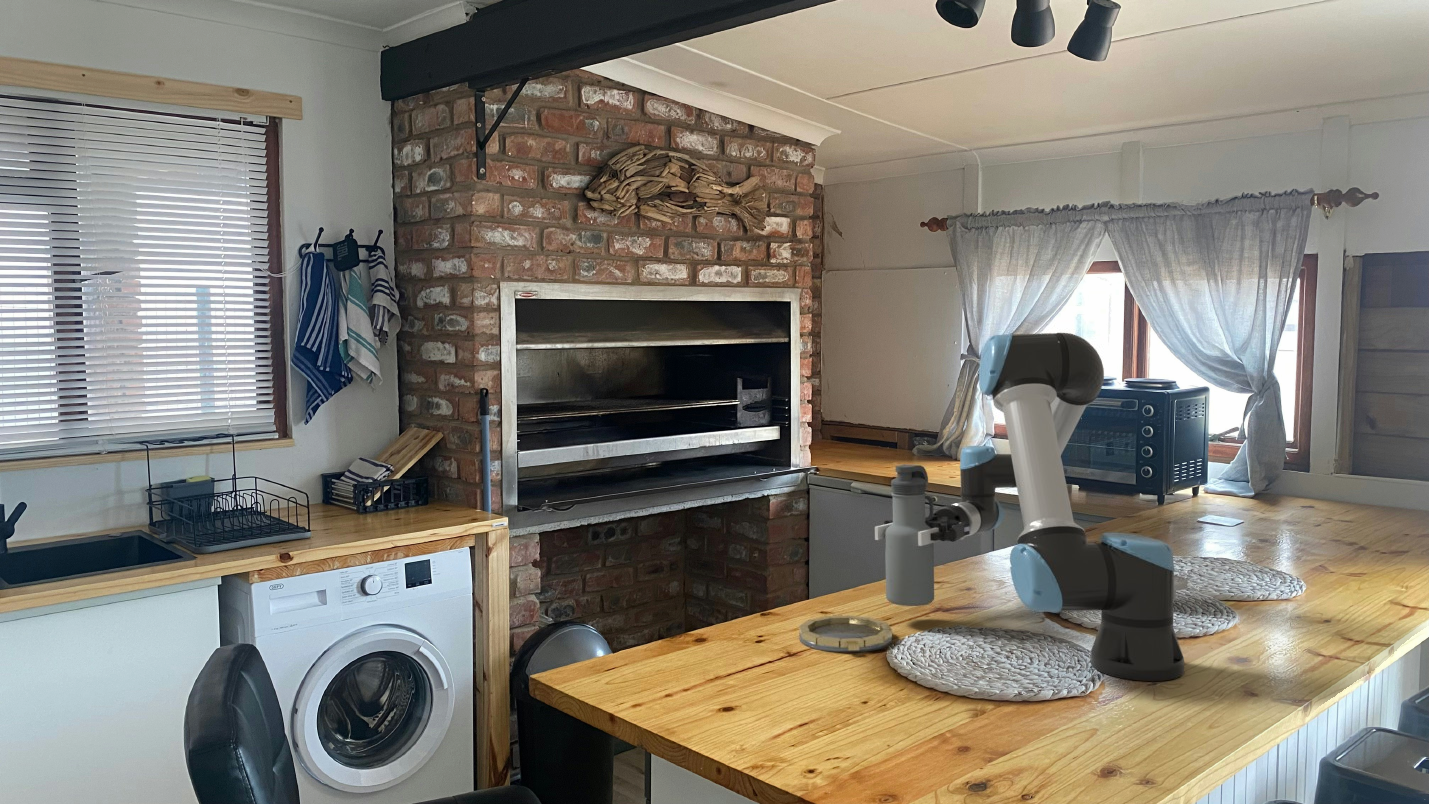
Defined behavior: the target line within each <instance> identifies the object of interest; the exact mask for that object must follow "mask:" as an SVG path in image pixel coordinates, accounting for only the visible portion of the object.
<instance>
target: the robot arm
mask: <svg viewBox="0 0 1429 804" xmlns="http://www.w3.org/2000/svg"><path fill="white" fill-rule="evenodd" d="M1104 378H1105V368H1104V365H1103V362H1102V359H1101V356H1100V355H1099V352H1098V351H1097V350H1096V348H1095V347H1094V346H1093V345H1092V344H1091V343H1090V342H1089V341H1087V340H1086V339H1085V338H1083V337H1081V336H1079V335H1077V334H1073V333H1070V332H1057V333H1056V332H1055V333H1054V332H1052V333H1051V332H1049V333H1042V332H1041V333H1017V334H1016V333H1012V332H1010V333H1008V334H994V335H991V336H990V337H989V338H987V340H986V342H985V344H984V345H983V348H982V352H981V356H980V362H979V372H978V382H979V383H978V384H979V385H978V386H979V389H980V391H981V394H983V395H984V396H987V397H990V396H991V397H992V402H993V406H994V408H995V409H996V410H998V411H1000V412H1002V414H1003V416H1004V417H1003V418H1004V423H1005V428H1006V433H1007V440H1008V444H1009V445H1008V446H1009V451H1010V453H996V451H995V450H996V449H995V447H993V446H989V445H968V446H965V447H962V449H961V450H960V463H959V469H960V470H959V472H960V502H957V503H951V504H948V505H944V506H940V507H938V509H936V510H934V512H933V514H934V515H933V518H932V519H931V520H928V521H926V520H925V523H926V525H928V526H929V527H930V528H931V529H928V530H924V531H920V532H918V546H923V545H927V544H930V543H934V544H935V543H938V542H939V541H940V542H957V541H958V540H965V539H966V537H969V536H974V535H978V534H982V533H987V532H989V531H991V530H994V529H996V528H998V526H999V525H1001V524H1002V521H1003V518H1004V509H1003V507H1002V505H1001V503H1000V502H999V500H998V499H996V489H1001V488H1002V489H1003V488H1005V489H1006V488H1008V489H1009V488H1012V489H1013V488H1016V490H1017V495H1018V502H1019V507H1020V512H1021V513H1020V514H1021V519H1022V523H1023V524H1022V525H1023V530H1022V531H1021V533H1020V534H1018V537H1017V544H1016V545H1014V546H1013V548H1012V549H1011V551H1010V554H1009V563H1010V567H1009V568H1010V576H1011V580H1012V583H1013V587H1014V589H1015V591H1016V594H1017V596H1018V598H1019V599H1020V601H1021V603H1023V605H1024V606H1025V607H1026V608H1028V609H1029V610H1030V611H1032V612H1046V613H1047V612H1049V613H1053V614H1055V613H1059V612H1080V611H1081V612H1082V611H1083V612H1084V611H1085V612H1087V611H1089V612H1090V611H1101V618H1100V619H1101V621H1100V625H1099V627H1098V630H1097V633H1096V635H1095V639H1094V641H1093V644H1092V647H1091V650H1090V664H1091V666H1092V668H1094V669H1095V670H1097V671H1099V672H1101V673H1103V674H1106V675H1107V676H1108V675H1109V676H1111V677H1112V676H1113V677H1115V678H1121V679H1126V680H1132V681H1144V682H1145V681H1147V682H1158V681H1159V682H1161V681H1170V680H1174V679H1178V678H1180V677H1182V676H1183V675H1184V674H1185V659H1184V654H1183V652H1182V649H1181V646H1180V643H1179V640H1178V637H1177V634H1176V631H1175V628H1174V601H1173V597H1174V576H1175V573H1174V572H1175V570H1176V569H1175V565H1174V563H1175V562H1174V554H1173V553H1174V552H1173V549H1172V548H1171V546H1170V545H1169V544H1168V543H1166V542H1164V541H1162V540H1160V539H1156V538H1153V537H1150V536H1149V537H1148V536H1143V535H1140V534H1139V535H1138V534H1131V533H1123V532H1112V531H1111V532H1104V533H1102V534H1101V536H1100V538H1099V539H1100V540H1099V541H1100V542H1088V540H1087V535H1086V531H1085V529H1084V528H1083V527H1081V526H1080V525H1079V524H1078V523H1075V521H1074V516H1073V511H1072V508H1071V507H1072V506H1071V502H1070V496H1069V492H1068V491H1069V490H1068V486H1067V482H1066V476H1065V471H1064V465H1063V461H1062V457H1061V456H1062V454H1063V452H1064V450H1065V448H1066V446H1067V445H1068V442H1069V441H1070V439H1071V437H1072V434H1073V433H1074V431H1075V428H1076V427H1077V425H1078V423H1079V421H1080V419H1081V417H1082V415H1083V414H1084V411H1085V409H1086V408H1087V406H1089V405H1090V404H1092V403H1094V402H1095V401H1096V399H1097V398H1098V396H1099V393H1100V392H1101V390H1102V388H1103V384H1104V380H1105V379H1104ZM927 517H928V516H925V518H927ZM892 523H893V519H892V520H891V519H890V520H884V521H883V524H882V525H876V526H874V540H875V541H880V540H885V532H886V529H887V528H888V527H889V526H890V525H892Z"/></svg>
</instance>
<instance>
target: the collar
mask: <svg viewBox="0 0 1429 804" xmlns="http://www.w3.org/2000/svg"><path fill="white" fill-rule="evenodd" d="M798 627H799V629H798V631H799V635H798V637H799V641H800V643H801V644H803V645H805V646H806V647H807V648H810V649H814V650H817V651H822V652H827V653H828V652H830V653H839V654H840V653H842V654H850V653H852V654H855V653H866V652H873V651H879V650H881V649H883V648H887V647H888V646H889V645H890V644H891V643H892V642H893V629H892V627H891V626H890V625H889V623H887V622H885V621H882V620H880V619H876V618H873V617H869V616H868V617H866V616H858V615H843V614H837V615H836V614H833V615H828V616H821V617H816V618H812V619H808V620H806V621H804V622H803V623H801V624H799V626H798Z"/></svg>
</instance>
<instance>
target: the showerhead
mask: <svg viewBox="0 0 1429 804" xmlns="http://www.w3.org/2000/svg"><path fill="white" fill-rule="evenodd" d="M1188 583H1189V582H1188V580H1187V578H1185V577H1182V576H1180V575H1179V576H1178V575H1177V574H1176V575H1175V574H1174V597H1173V602H1175V600H1176V599H1177V598H1176V595H1177V594H1176V593H1177V591H1183V590H1186V589H1188Z"/></svg>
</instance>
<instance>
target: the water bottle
mask: <svg viewBox="0 0 1429 804" xmlns="http://www.w3.org/2000/svg"><path fill="white" fill-rule="evenodd" d="M895 473H896V478H893V479H892V480H890V483H891V484H890V485H891V487H890V488H891V489H890V491H891V495H890V496H892V520H893V523H892V525H890V526H889V527H888V528H887V529H886V532H885V539H884V543H885V544H884V549H885V550H884V551H885V554H884V555H885V557H884V558H885V597H886V599H887V601H888V602H889V603H891V604H893V605H898V606H902V607H919V606H926V605H930V604H931V603H933V601H934V600H935V561H934V560H935V558H934V557H935V554H934V553H935V552H934V550H935V549H934V548H935V547H934V544H935V542H934V543H930V544H927V545H923V546H918V532H920V531H924V530H928V529H931V528H930V527H929V526H928V525H926V523H925V520H926V521H928V520H931V519H932V518H933V515H934V499H933V498H932V497H931V496H930V495H927V493H926V492H927V488H928V486H929V476H928V473H927V470H926V468H925V467H924V466H923V465H921V464H920V465H918V464H901V465H899V464H898V465H896V466H895ZM926 500H927V501H928V503H929V514H928V516H926ZM925 517H927V518H925Z"/></svg>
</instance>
